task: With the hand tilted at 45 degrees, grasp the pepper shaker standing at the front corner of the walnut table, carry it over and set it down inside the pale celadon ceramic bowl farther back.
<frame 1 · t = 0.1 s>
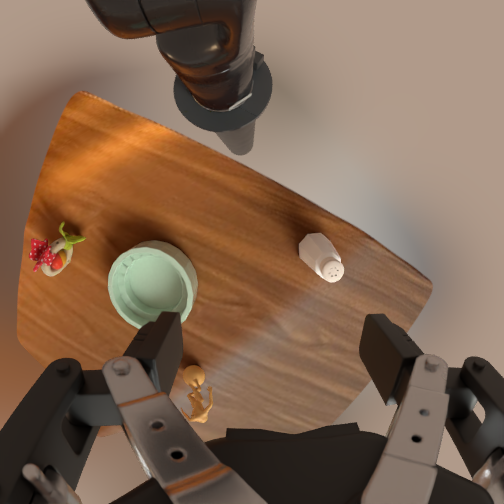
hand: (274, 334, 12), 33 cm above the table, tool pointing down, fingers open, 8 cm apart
bowl: (157, 280, 46), on the table
figurine: (200, 371, 51), on the table
bird rattle: (72, 245, 45), on the table
pepper shaker: (314, 248, 45), on the table
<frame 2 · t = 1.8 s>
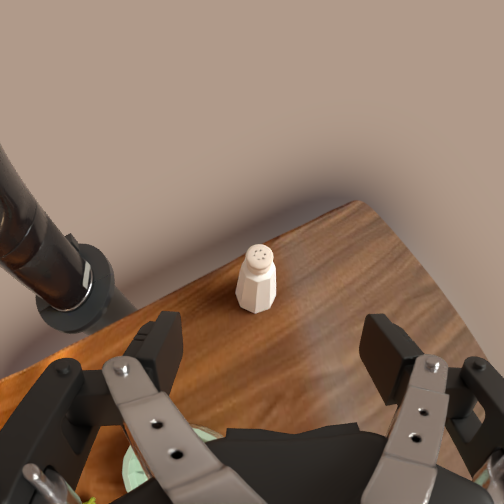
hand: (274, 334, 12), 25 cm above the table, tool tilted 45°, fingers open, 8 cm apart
bowl: (189, 472, 27), on the table
pepper shaker: (255, 295, 39), on the table
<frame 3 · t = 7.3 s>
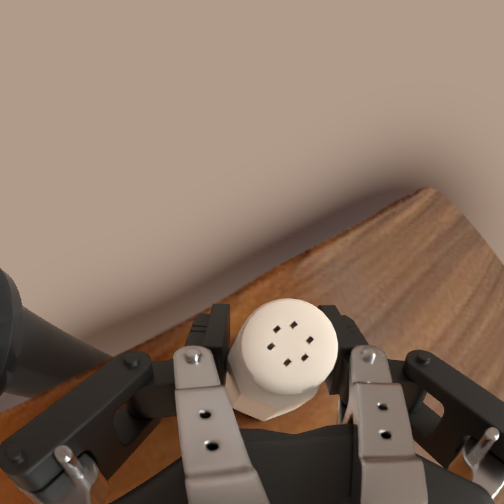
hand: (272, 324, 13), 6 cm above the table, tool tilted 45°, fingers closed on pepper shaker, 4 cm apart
pepper shaker: (264, 380, 17), on the table, touching gripper
when the fingers open (7 cm above the table, at t = 17.1 s): pepper shaker stays where it is, resting on bowl.
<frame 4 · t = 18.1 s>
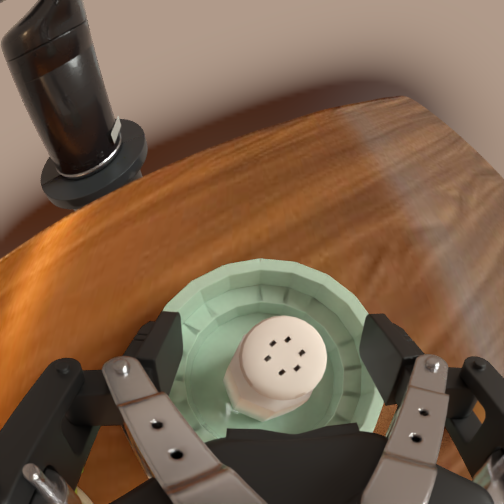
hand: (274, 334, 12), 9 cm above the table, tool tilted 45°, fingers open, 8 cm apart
bowl: (262, 381, 19), on the table
pepper shaker: (263, 383, 18), resting on bowl
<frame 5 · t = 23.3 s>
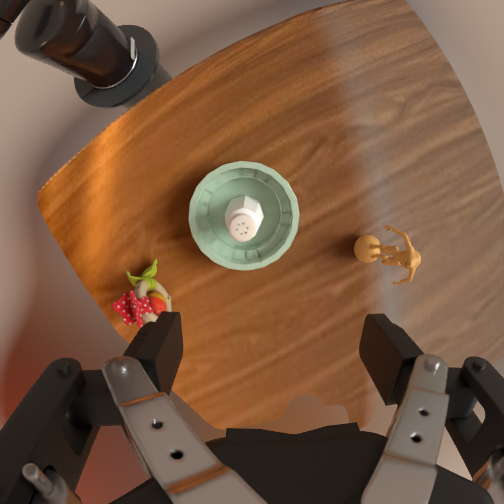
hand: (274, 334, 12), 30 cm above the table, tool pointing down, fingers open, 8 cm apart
bowl: (244, 211, 41), on the table
figurine: (368, 243, 42), on the table
bird rattle: (158, 284, 44), on the table
pepper shaker: (244, 213, 40), resting on bowl
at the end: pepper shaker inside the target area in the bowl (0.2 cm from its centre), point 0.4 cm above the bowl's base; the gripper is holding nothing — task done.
